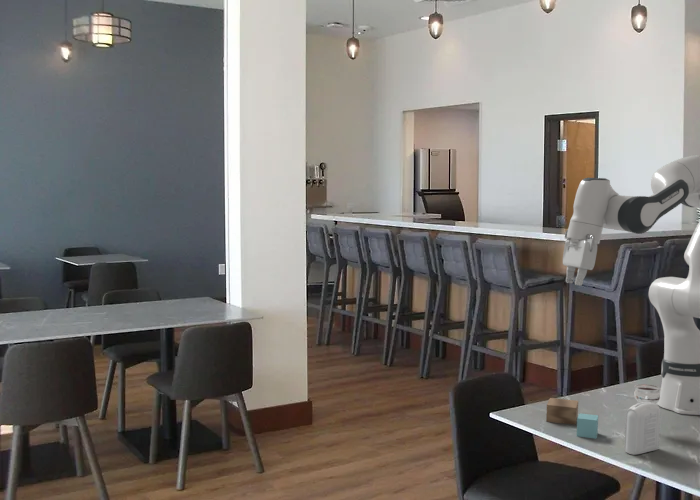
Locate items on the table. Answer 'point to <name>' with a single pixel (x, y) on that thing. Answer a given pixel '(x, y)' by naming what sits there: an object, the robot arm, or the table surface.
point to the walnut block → (562, 411)
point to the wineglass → (646, 393)
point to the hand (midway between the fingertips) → (573, 284)
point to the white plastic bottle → (642, 428)
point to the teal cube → (587, 425)
